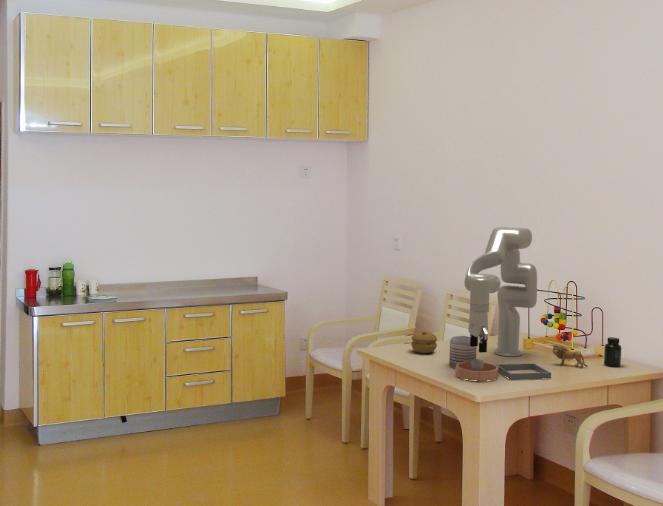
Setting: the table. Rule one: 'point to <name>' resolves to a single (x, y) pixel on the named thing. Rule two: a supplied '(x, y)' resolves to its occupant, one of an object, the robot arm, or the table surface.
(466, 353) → the can
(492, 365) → the bowl
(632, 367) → the table surface
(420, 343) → the pot
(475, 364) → the grey cylinder
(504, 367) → the tray
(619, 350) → the supplement bottle
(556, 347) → the lion figurine
